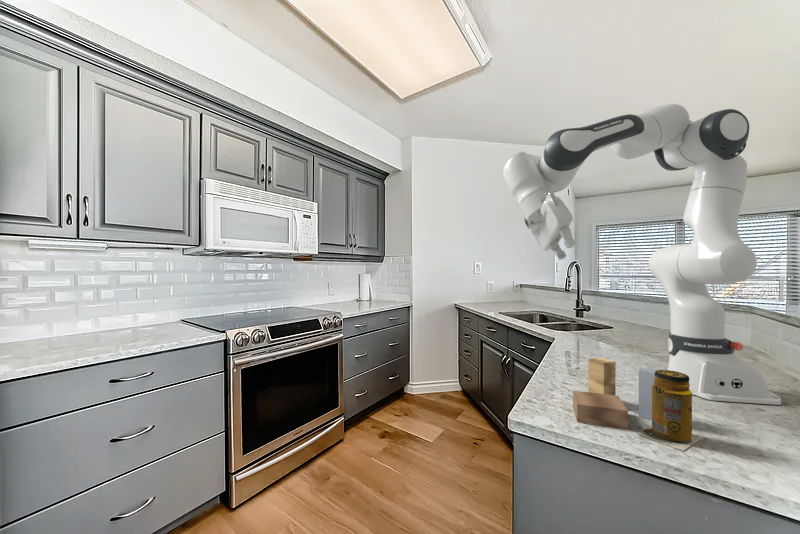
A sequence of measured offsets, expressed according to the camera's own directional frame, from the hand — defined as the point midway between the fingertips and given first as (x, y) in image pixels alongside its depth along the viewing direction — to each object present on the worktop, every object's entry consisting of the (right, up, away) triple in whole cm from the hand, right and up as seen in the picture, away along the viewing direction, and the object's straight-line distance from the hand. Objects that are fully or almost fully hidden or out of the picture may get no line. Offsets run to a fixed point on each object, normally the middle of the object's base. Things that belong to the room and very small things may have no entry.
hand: (567, 252), depth 87 cm
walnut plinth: (+1, -36, -12) cm, 38 cm away
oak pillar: (+7, -36, -3) cm, 37 cm away
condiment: (+9, -36, -21) cm, 42 cm away
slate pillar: (+13, -36, -12) cm, 40 cm away
